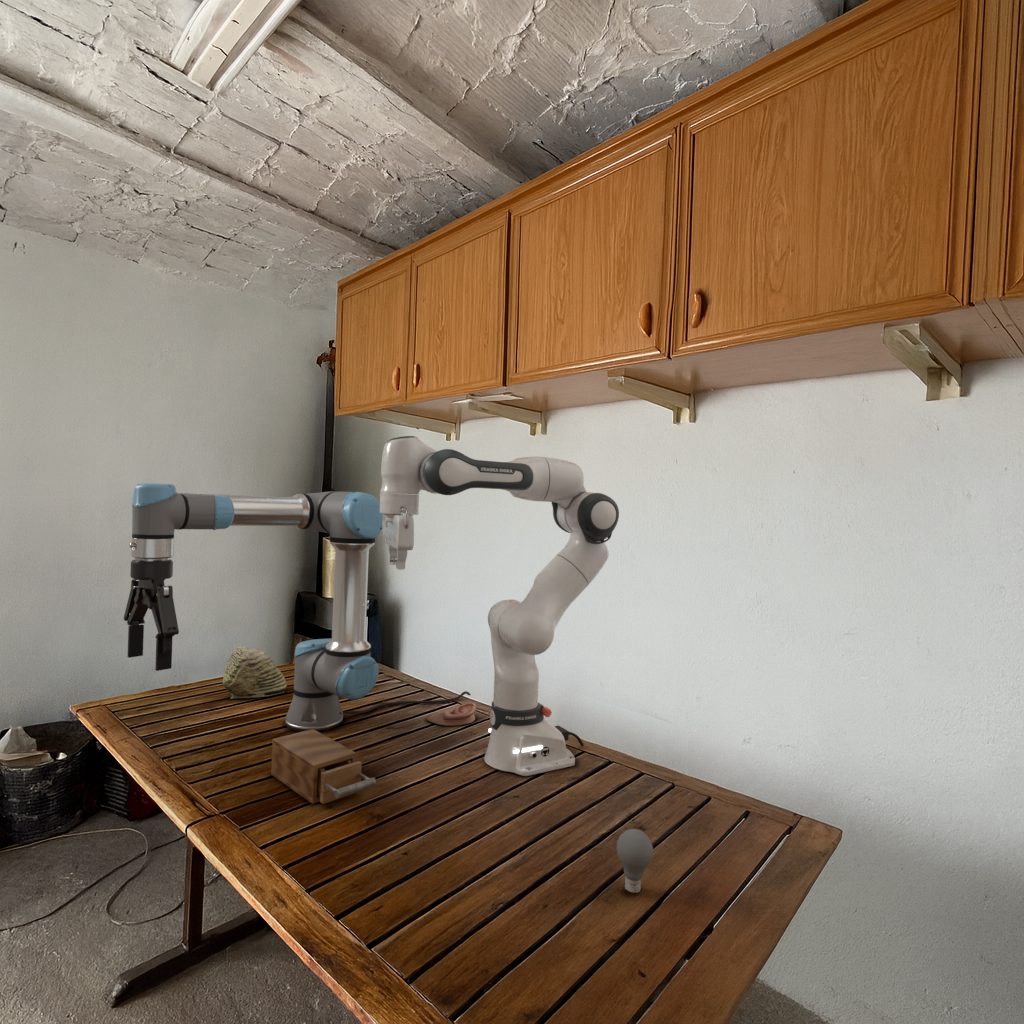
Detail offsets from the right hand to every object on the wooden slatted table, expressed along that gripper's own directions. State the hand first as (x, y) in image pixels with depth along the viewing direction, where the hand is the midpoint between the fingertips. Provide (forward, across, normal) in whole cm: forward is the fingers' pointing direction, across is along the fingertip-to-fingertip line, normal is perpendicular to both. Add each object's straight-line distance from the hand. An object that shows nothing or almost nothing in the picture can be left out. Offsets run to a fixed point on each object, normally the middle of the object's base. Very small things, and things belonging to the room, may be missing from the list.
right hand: (396, 566), depth 145 cm
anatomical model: (+48, +31, -23) cm, 62 cm away
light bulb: (+48, -55, -32) cm, 80 cm away
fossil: (+48, +66, +31) cm, 88 cm away
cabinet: (+48, 0, +17) cm, 51 cm away
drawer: (+47, -6, +14) cm, 49 cm away
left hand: (+20, +1, +50) cm, 54 cm away
